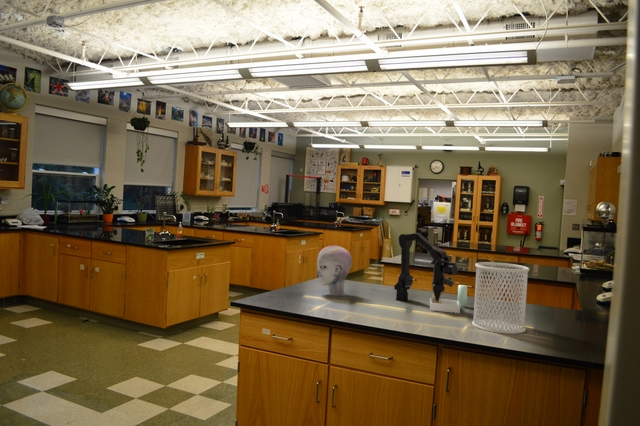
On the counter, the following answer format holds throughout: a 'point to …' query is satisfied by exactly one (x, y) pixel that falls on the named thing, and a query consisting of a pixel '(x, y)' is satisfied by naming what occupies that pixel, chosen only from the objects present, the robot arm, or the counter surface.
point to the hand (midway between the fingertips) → (437, 300)
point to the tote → (445, 306)
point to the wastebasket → (496, 323)
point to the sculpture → (334, 268)
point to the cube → (435, 299)
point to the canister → (462, 295)
